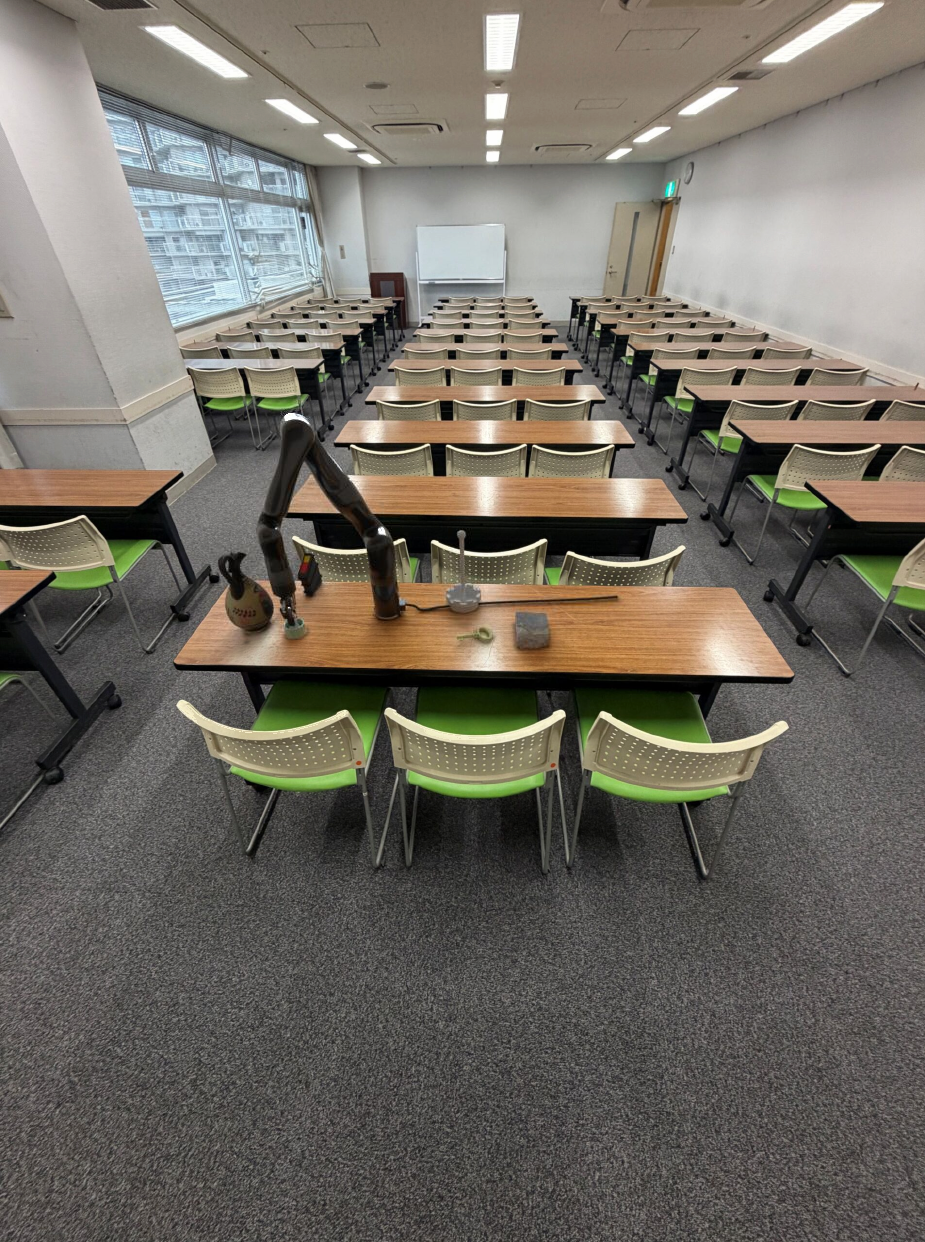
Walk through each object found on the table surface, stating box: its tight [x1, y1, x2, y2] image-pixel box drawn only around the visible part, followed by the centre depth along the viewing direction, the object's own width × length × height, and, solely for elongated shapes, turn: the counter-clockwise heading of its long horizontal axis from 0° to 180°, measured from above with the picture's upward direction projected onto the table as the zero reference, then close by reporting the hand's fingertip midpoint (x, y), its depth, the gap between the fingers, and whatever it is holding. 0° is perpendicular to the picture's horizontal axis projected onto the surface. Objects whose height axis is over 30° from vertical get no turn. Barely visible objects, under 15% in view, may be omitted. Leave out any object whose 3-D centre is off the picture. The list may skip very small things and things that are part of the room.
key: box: [456, 626, 493, 643], centre depth 173 cm, size 7×12×2 cm, turn 126°
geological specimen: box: [514, 611, 550, 650], centre depth 173 cm, size 11×6×15 cm
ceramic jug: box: [217, 551, 275, 635], centre depth 174 cm, size 17×15×30 cm
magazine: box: [296, 552, 323, 597], centre depth 199 cm, size 4×13×15 cm, turn 173°
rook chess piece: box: [289, 612, 300, 629], centre depth 177 cm, size 4×4×8 cm
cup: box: [283, 617, 307, 640], centre depth 178 cm, size 7×7×4 cm
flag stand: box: [445, 530, 482, 614], centre depth 182 cm, size 13×13×30 cm
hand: (293, 622), depth 176 cm, fingers closed on rook chess piece, 3 cm apart
